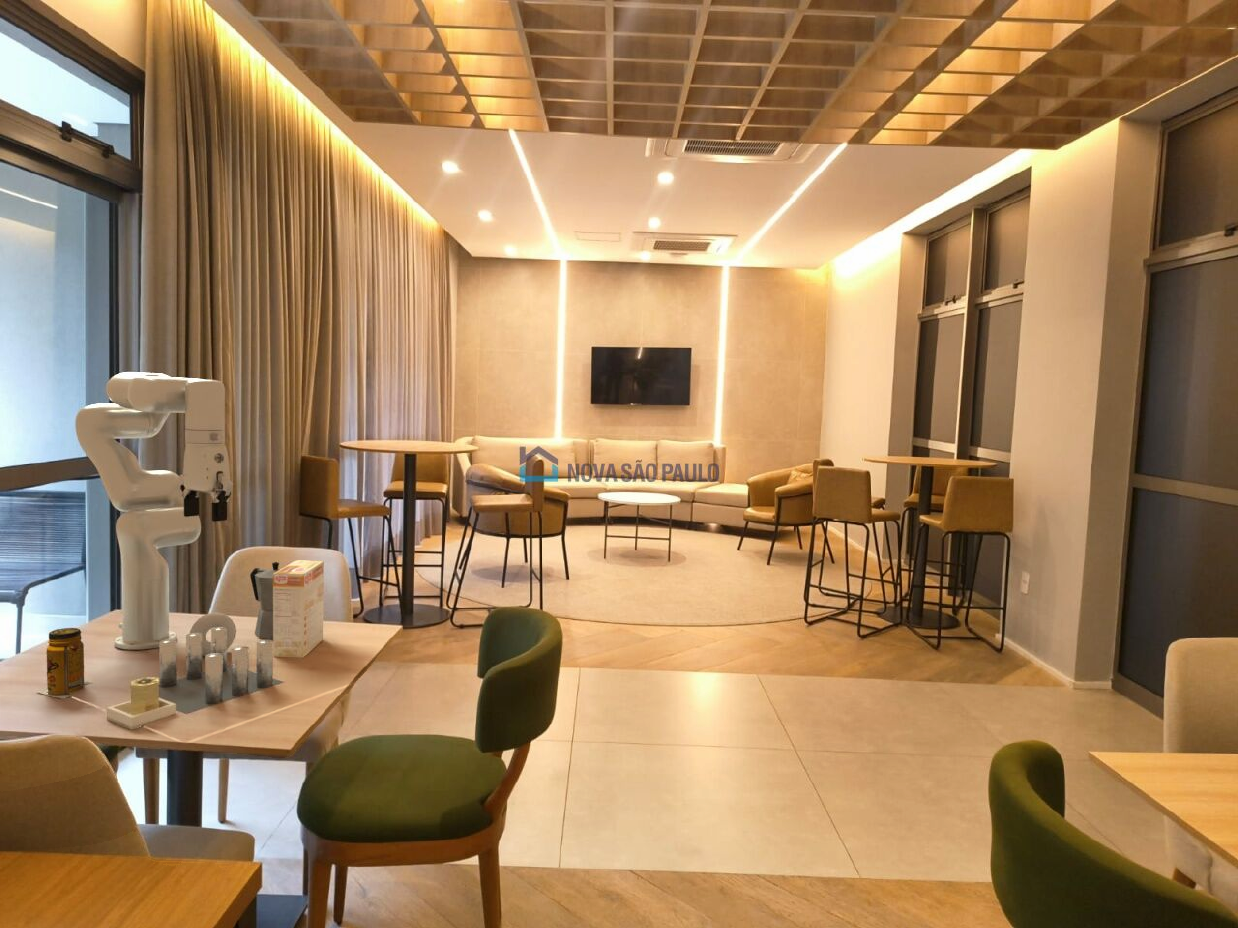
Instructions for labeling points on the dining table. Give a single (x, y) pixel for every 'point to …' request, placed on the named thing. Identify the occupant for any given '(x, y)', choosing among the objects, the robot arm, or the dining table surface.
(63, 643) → the condiment
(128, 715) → the dish
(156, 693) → the amber perfume bottle
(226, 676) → the mat
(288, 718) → the dining table surface
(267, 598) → the coffeepot
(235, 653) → the silver peg rack
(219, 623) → the donut
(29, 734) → the dining table surface
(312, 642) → the coffeecake box
